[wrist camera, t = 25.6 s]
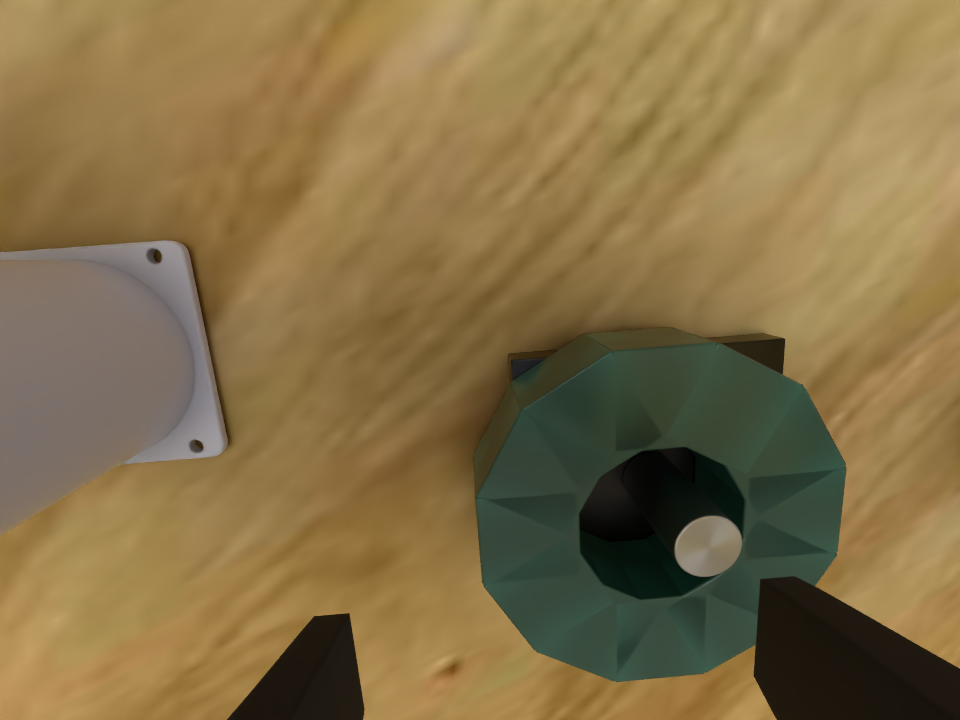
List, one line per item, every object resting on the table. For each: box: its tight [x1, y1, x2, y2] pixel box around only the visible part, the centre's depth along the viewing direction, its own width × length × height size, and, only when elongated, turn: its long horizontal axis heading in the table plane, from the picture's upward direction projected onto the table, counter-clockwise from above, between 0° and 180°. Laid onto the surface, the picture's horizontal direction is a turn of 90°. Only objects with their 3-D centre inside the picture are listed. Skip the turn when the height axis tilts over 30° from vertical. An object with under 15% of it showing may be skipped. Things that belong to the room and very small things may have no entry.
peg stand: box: [508, 334, 785, 577], centre depth 16 cm, size 10×10×6 cm
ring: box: [473, 327, 846, 682], centre depth 16 cm, size 12×12×3 cm
